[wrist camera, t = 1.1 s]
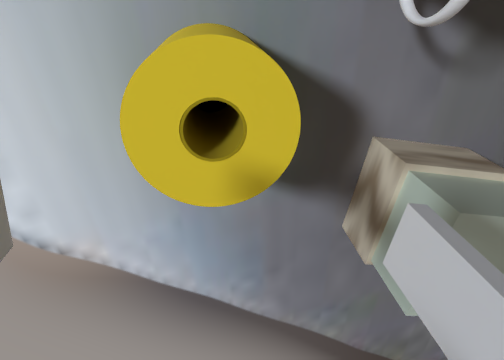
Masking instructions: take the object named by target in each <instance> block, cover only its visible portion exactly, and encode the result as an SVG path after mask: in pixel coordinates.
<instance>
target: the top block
mask: <svg viewBox="0 0 504 360" xmlns="http://www.w3.org/2000/svg"><path fill="white" fill-rule="evenodd" d="M408 203H413V204H425V205H428V206H429V207H430V208H431V209H432V210H433V211H434V212H436V213H437V214H438V215H439V216H440V217H441V218H442V219H443V220H444V221H445V222H446V223H448V224H449V225H450V226H451V227H452V228H453V229H454V230H455V231H456V232H457V233H459V234H460V235H461V236H462V237H463V238H464V239H465V240H466V241H467V242H468V243H470V244H471V245H472V246H473V247H474V248H475V249H476V250H477V251H478V252H479V253H481V254H482V255H483V256H484V257H485V258H486V259H487V260H488V261H489V262H490V263H492V264H493V265H494V266H495V267H496V268H497V269H498V270H499V271H500V272H501V273H502V274H504V181H496V180H487V179H479V178H470V177H461V176H452V175H444V174H435V173H426V172H417V171H408V174H407V176H406V178H405V181H404V183H403V186H402V188H401V190H400V193H399V195H398V197H397V200H396V202H395V205H394V207H393V209H392V212H391V214H390V217H389V219H388V221H387V224H386V226H385V228H384V231H383V233H382V236H381V238H380V240H379V243H378V245H377V248H376V250H375V252H374V255H373V257H372V259H371V262H372V263H373V265H374V266H375V268H376V270H377V271H378V273H379V274H380V276H381V277H382V279H383V280H384V282H385V284H386V285H387V287H388V288H389V290H390V291H391V293H392V295H393V296H394V298H395V299H396V301H397V302H398V304H399V305H400V307H401V309H402V310H403V312H404V313H405V315H406V316H418V314H417V313H416V311H415V310H414V308H413V307H412V305H411V304H410V302H409V301H408V300H407V298H406V297H405V295H404V294H403V292H402V291H401V289H400V288H399V286H398V285H397V283H396V282H395V280H394V279H393V277H392V276H391V275H390V273H389V272H388V270H387V269H386V267H385V266H384V264H383V261H384V258H385V256H386V254H387V251H388V249H389V246H390V244H391V242H392V239H393V237H394V235H395V232H396V230H397V228H398V225H399V223H400V221H401V218H402V216H403V214H404V211H405V209H406V206H407V204H408Z"/></svg>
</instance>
